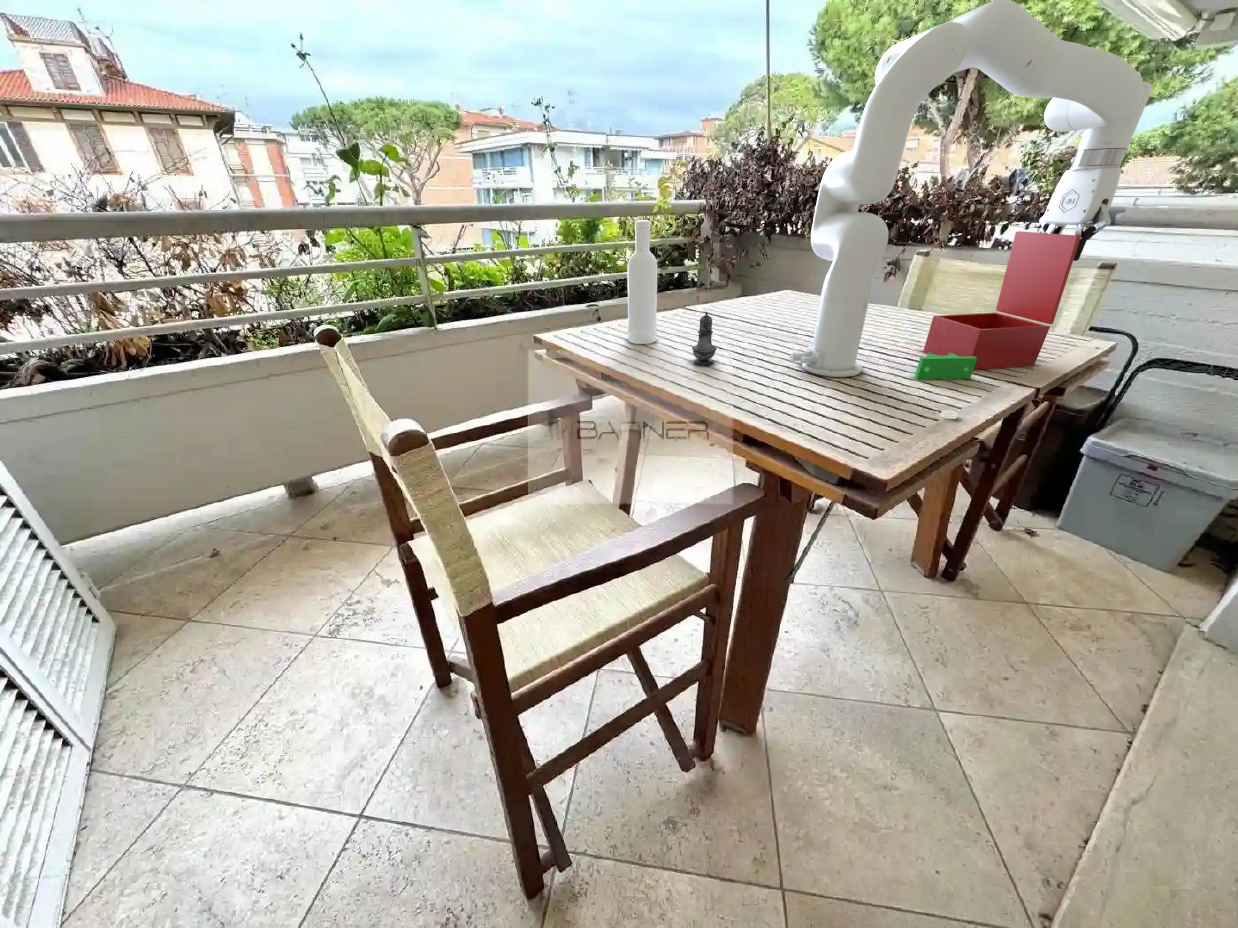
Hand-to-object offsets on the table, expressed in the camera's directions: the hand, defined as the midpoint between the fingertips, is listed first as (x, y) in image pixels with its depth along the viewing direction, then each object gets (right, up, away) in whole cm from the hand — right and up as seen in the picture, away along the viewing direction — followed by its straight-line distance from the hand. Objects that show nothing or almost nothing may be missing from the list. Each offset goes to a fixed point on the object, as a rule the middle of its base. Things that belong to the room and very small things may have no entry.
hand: (1058, 258), depth 105 cm
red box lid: (-4, -4, +1) cm, 6 cm away
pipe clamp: (-27, -26, -1) cm, 37 cm away
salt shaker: (-76, -21, +11) cm, 79 cm away
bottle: (-89, -11, +30) cm, 95 cm away
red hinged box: (-11, -20, +9) cm, 24 cm away
